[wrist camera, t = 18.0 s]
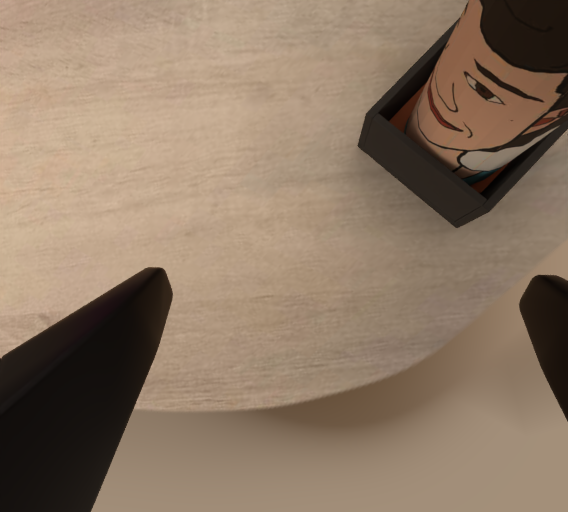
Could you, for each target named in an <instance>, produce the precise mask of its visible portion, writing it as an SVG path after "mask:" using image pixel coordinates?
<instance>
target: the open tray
mask: <svg viewBox="0 0 568 512" xmlns="http://www.w3.org/2000/svg"><path fill="white" fill-rule="evenodd" d="M459 19H460V18H459ZM459 19H458V20H457V21H456V22H455V23H454V24H453V25H452V26H451V27H450V28H449V29H448V30H447V31H446V32H445V33H444V34H443V35H442V37H441V38H440V39H439V40H438V41H437V42H436V43H435V44H434V45H433V46H432V47H431V48H430V49H429V50H428V51H427V52H426V53H425V54H424V55H423V56H422V57H421V58H420V59H419V60H418V61H417V62H416V63H415V64H414V65H413V66H412V67H411V68H410V69H409V70H408V71H407V72H406V73H405V74H404V75H403V76H402V77H401V78H400V79H399V80H398V81H397V83H396V84H395V85H394V86H393V87H392V88H391V89H390V90H389V91H388V92H387V93H386V94H385V95H384V96H383V97H382V98H381V99H380V100H379V101H378V102H377V103H376V104H375V105H374V106H373V107H372V108H371V109H370V110H369V111H368V112H367V113H366V117H365V120H364V124H363V128H362V131H361V135H360V139H359V143H358V147H359V148H361V149H362V150H363V151H364V152H365V153H367V154H368V155H369V156H370V157H371V158H373V159H374V160H375V161H376V162H377V163H379V164H380V165H381V166H382V167H383V168H385V169H386V170H387V171H388V172H390V173H391V174H392V175H393V176H394V177H396V178H397V179H398V180H399V181H400V182H402V183H403V184H404V185H405V186H406V187H408V188H409V189H410V190H411V191H412V192H414V193H415V194H416V195H417V196H418V197H420V198H421V199H422V200H423V201H425V202H426V203H427V204H428V205H429V206H431V207H432V208H433V209H434V210H435V211H437V212H438V213H439V214H440V215H441V216H443V217H444V218H445V219H446V220H447V221H449V222H450V223H451V224H452V225H454V226H455V227H456V228H458V227H460V226H462V225H464V224H466V223H468V222H470V221H472V220H474V219H476V218H478V217H480V216H482V215H484V214H486V213H488V212H489V211H490V210H491V209H492V208H493V207H494V206H495V205H496V204H497V203H498V202H499V201H500V200H501V199H502V198H503V197H504V196H505V195H506V193H507V192H508V191H509V190H510V189H511V188H512V187H513V186H514V185H515V184H516V183H517V182H518V181H519V180H520V179H521V178H522V177H523V175H524V174H525V173H526V172H527V171H528V170H529V169H530V168H531V167H532V166H533V165H534V164H535V163H536V162H537V161H538V160H539V159H540V157H541V156H542V155H543V154H544V153H545V152H546V151H547V150H548V149H549V148H550V147H551V146H552V145H553V144H554V143H555V142H556V141H557V139H558V138H559V137H560V136H561V135H562V134H563V133H564V132H565V131H566V130H567V129H568V120H567V121H566V122H564V123H563V124H561V125H560V126H559V127H557V128H556V129H554V130H553V131H552V132H550V133H549V134H548V135H546V136H545V137H543V138H542V139H541V140H539V141H538V142H536V143H535V144H534V145H532V146H531V147H529V148H528V149H527V150H525V151H524V152H522V153H521V154H520V155H518V156H517V157H515V158H514V159H513V160H511V161H510V162H508V163H507V164H506V165H504V166H503V167H501V168H500V169H499V170H497V171H496V172H494V173H493V174H492V175H490V176H489V177H488V178H486V179H485V180H482V181H480V182H477V183H475V184H472V185H468V184H467V183H466V182H465V181H463V180H462V179H461V178H459V177H458V176H457V175H456V174H454V173H453V172H452V171H451V170H449V169H448V168H447V167H446V166H444V165H443V164H442V163H441V162H439V161H438V160H437V159H435V158H434V157H433V156H432V155H430V154H429V153H428V152H427V151H425V150H424V149H423V148H422V147H420V146H419V145H418V144H417V143H415V142H414V141H413V140H412V139H410V138H409V137H408V136H406V135H405V134H404V130H405V126H406V122H407V120H408V118H409V117H410V115H411V113H412V111H413V109H414V107H415V105H416V103H417V101H418V99H419V97H420V95H421V93H422V91H423V89H424V87H425V85H426V83H427V81H428V79H429V77H430V76H431V74H432V72H433V70H434V68H435V66H436V64H437V62H438V60H439V58H440V56H441V54H442V52H443V50H444V48H445V46H446V44H447V42H448V40H449V38H450V36H451V35H452V33H453V31H454V29H455V27H456V25H457V23H458V21H459Z"/></svg>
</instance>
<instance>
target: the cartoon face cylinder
mask: <svg viewBox="0 0 568 512" xmlns="http://www.w3.org/2000/svg"><path fill="white" fill-rule="evenodd" d="M567 120H568V0H469V1H468V3H467V5H466V7H465V9H464V11H463V13H462V15H461V17H460V19H459V21H458V23H457V25H456V27H455V29H454V31H453V33H452V35H451V36H450V38H449V40H448V42H447V44H446V46H445V48H444V50H443V52H442V54H441V56H440V58H439V60H438V62H437V64H436V66H435V68H434V70H433V72H432V74H431V76H430V77H429V79H428V81H427V83H426V85H425V87H424V89H423V91H422V93H421V95H420V97H419V99H418V101H417V103H416V105H415V107H414V109H413V111H412V113H411V115H410V117H409V118H408V120H407V122H406V126H405V130H404V134H405V135H406V136H408V137H409V138H410V139H412V140H413V141H414V142H415V143H417V144H418V145H419V146H420V147H422V148H423V149H424V150H425V151H427V152H428V153H429V154H430V155H432V156H433V157H434V158H435V159H437V160H438V161H439V162H441V163H442V164H443V165H444V166H446V167H447V168H448V169H449V170H451V171H452V172H453V173H454V174H456V175H457V176H458V177H459V178H461V179H462V180H463V181H465V182H466V183H467V184H468V185H472V184H475V183H477V182H480V181H482V180H485V179H486V178H488V177H489V176H490V175H492V174H493V173H494V172H496V171H497V170H499V169H500V168H501V167H503V166H504V165H506V164H507V163H508V162H510V161H511V160H513V159H514V158H515V157H517V156H518V155H520V154H521V153H522V152H524V151H525V150H527V149H528V148H529V147H531V146H532V145H534V144H535V143H536V142H538V141H539V140H541V139H542V138H543V137H545V136H546V135H548V134H549V133H550V132H552V131H553V130H554V129H556V128H557V127H559V126H560V125H561V124H563V123H564V122H566V121H567Z"/></svg>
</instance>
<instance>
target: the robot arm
mask: <svg viewBox="0 0 568 512" xmlns="http://www.w3.org/2000/svg"><path fill="white" fill-rule="evenodd" d="M172 298H173V292H172V288H171V285H170V282H169V280H168V277H167V274H166V272H165V270H164V269H163V268H160V267H148V268H145V269H144V270H142V271H140V272H139V273H137V274H135V275H134V276H132V277H131V278H129V279H127V280H126V281H124V282H122V283H121V284H119V285H117V286H116V287H114V288H113V289H111V290H109V291H108V292H106V293H104V294H103V295H101V296H100V297H98V298H96V299H95V300H93V301H91V302H90V303H88V304H87V305H85V306H83V307H82V308H80V309H78V310H77V311H75V312H74V313H72V314H70V315H69V316H67V317H65V318H64V319H62V320H61V321H59V322H57V323H56V324H54V325H52V326H51V327H49V328H48V329H46V330H44V331H43V332H41V333H39V334H38V335H36V336H34V337H33V338H31V339H30V340H28V341H26V342H25V343H23V344H21V345H20V346H18V347H17V348H15V349H13V350H12V351H10V352H8V353H7V354H5V355H4V356H3V357H2V359H1V358H0V512H91V510H92V508H93V505H94V503H95V501H96V498H97V496H98V493H99V491H100V489H101V486H102V484H103V481H104V479H105V476H106V474H107V472H108V469H109V467H110V464H111V462H112V459H113V457H114V455H115V452H116V449H117V447H118V445H119V442H120V440H121V438H122V435H123V433H124V430H125V428H126V426H127V423H128V421H129V418H130V416H131V413H132V411H133V409H134V406H135V404H136V401H137V399H138V397H139V394H140V392H141V389H142V387H143V384H144V382H145V380H146V377H147V375H148V372H149V370H150V367H151V365H152V363H153V360H154V358H155V355H156V352H157V350H158V347H159V344H160V340H161V337H162V333H163V330H164V326H165V323H166V319H167V316H168V313H169V309H170V306H171V302H172ZM519 307H520V312H521V314H522V317H523V320H524V322H525V325H526V328H527V331H528V334H529V336H530V339H531V342H532V344H533V347H534V350H535V353H536V355H537V358H538V361H539V363H540V366H541V368H542V370H543V372H544V375H545V377H546V379H547V381H548V383H549V385H550V387H551V389H552V391H553V393H554V395H555V397H556V399H557V401H558V403H559V405H560V407H561V409H562V411H563V413H564V415H565V417H566V419H567V421H568V281H567V280H565V279H563V278H561V277H559V276H556V275H537V276H535V277H534V278H532V280H531V281H530V283H529V285H528V287H527V289H526V290H525V292H524V294H523V296H522V298H521V300H520V304H519Z"/></svg>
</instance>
